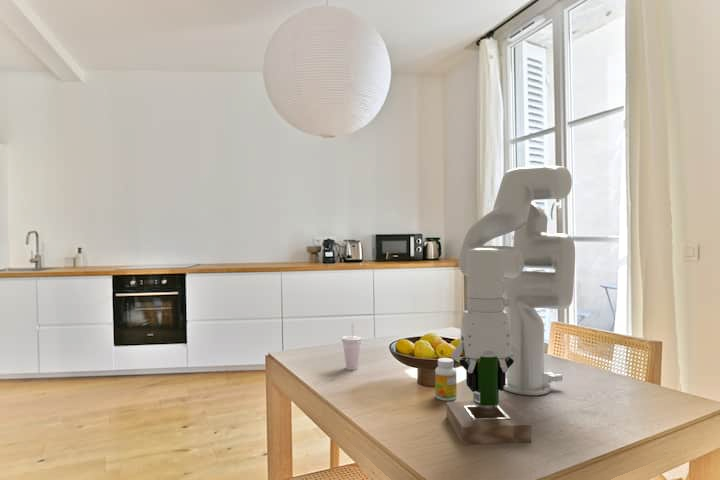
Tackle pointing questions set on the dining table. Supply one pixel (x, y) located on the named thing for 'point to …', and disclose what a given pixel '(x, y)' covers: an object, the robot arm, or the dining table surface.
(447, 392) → the supplement bottle
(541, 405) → the dining table surface
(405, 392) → the dining table surface
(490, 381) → the beer can
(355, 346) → the smoothie
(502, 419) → the jig bore mouth
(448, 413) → the block
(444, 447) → the dining table surface
